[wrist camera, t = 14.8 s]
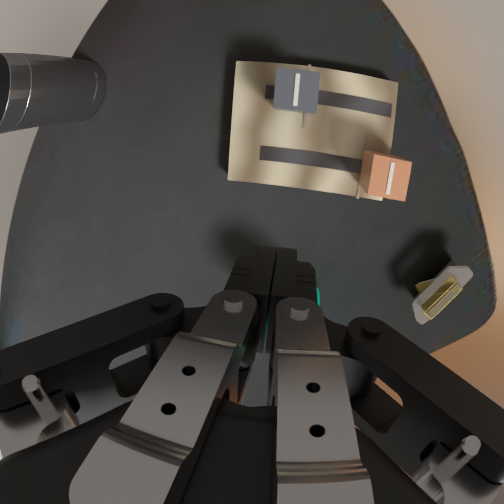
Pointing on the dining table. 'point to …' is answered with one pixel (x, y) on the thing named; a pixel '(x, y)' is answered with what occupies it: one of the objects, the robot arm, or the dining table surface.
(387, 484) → the robot arm
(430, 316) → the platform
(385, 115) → the panel
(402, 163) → the block
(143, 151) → the dining table surface
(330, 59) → the dining table surface
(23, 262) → the dining table surface
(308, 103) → the fader
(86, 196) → the dining table surface
